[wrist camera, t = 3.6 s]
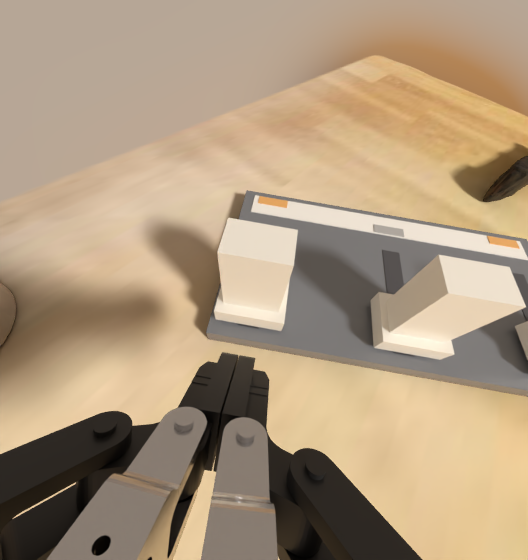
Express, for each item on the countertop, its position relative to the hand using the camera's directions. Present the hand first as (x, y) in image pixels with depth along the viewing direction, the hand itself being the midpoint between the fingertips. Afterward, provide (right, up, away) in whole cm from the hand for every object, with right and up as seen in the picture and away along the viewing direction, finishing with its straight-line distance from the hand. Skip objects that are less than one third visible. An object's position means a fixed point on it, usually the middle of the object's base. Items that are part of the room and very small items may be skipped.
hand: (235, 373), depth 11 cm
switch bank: (+13, +4, +13) cm, 19 cm away
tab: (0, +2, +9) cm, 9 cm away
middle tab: (+12, 0, +9) cm, 15 cm away
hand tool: (+37, +17, +24) cm, 47 cm away
